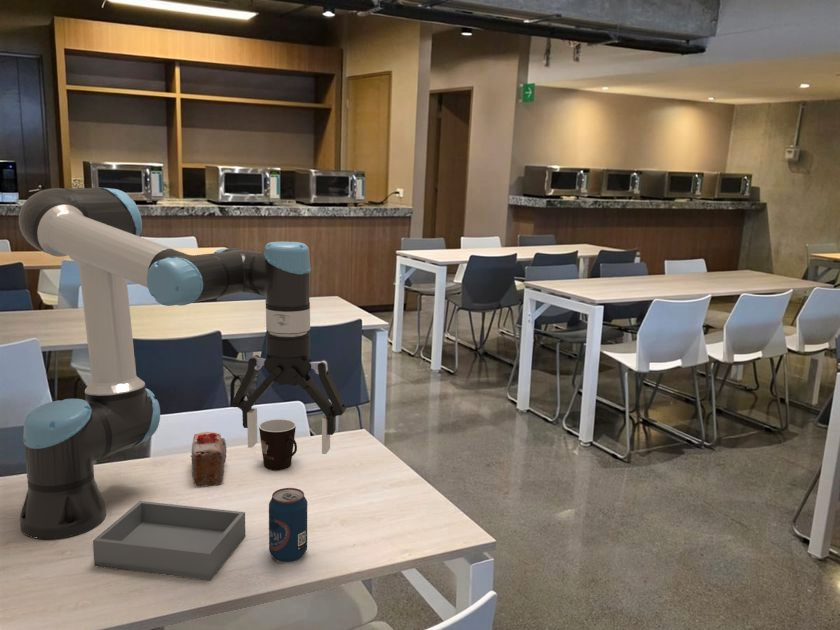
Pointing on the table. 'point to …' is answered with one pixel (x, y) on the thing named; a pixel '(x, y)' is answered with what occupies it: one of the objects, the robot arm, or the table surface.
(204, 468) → the food item
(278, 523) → the soda can
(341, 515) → the table surface
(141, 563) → the bin
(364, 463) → the table surface
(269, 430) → the coffee mug
